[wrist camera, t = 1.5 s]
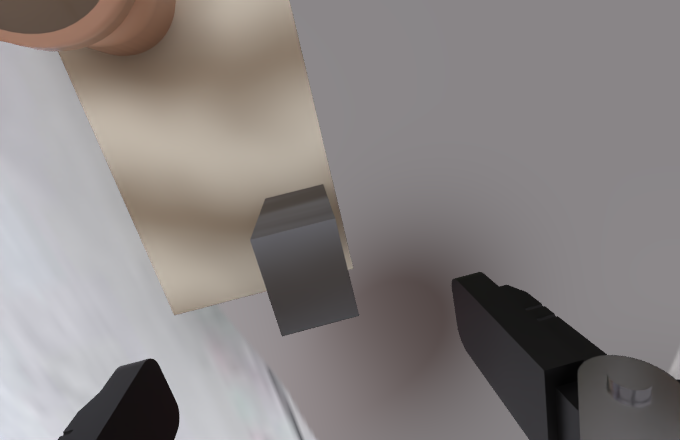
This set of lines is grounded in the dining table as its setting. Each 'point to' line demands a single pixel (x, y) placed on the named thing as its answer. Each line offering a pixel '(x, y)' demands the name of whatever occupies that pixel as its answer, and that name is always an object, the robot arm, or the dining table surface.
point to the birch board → (224, 161)
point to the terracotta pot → (86, 24)
